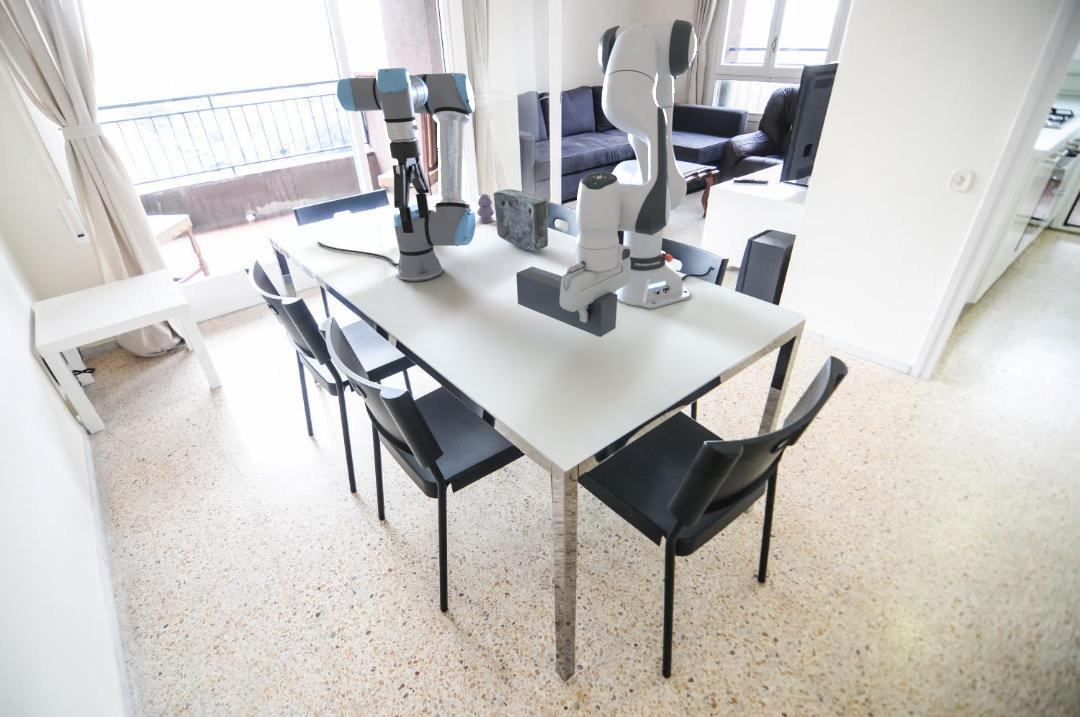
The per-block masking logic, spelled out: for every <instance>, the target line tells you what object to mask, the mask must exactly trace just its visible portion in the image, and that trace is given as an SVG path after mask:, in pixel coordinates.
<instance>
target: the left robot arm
mask: <svg viewBox="0 0 1080 717" xmlns="http://www.w3.org/2000/svg"><path fill="white" fill-rule="evenodd" d="M335 93H336V99H337V101H338V104H339V106H340V107H341V109H343V110H344V111H345V112H354V113H355V112H371V111H372V112H373V111H382V116H383V124H384V129H385V135H386V139H387V140H388V142H387V146H388V151H389V156H390V158H392V159H394V160H397V164H396V165H395V164H394V165H392V172H393V206H394V209H397V210H396V211H395V212H394V213H393V215H392V219H393V228H394V230H395V231H394V232H395V236H396V243H397V247H398V251H399V259H398V263H397V262H394V261H393V260H392V259H391V258H390V257H388V256H386V255H383V254H379V253H373V252H368V251H360V250H353V249H348V248H347V249H346V248H339V247H334V246H329V245H327V244H324V243H321V242H320V241H317V244H318V245H320V246H322V247H325V248H327V249H331V250H335V251H340V252H346V253H347V252H348V253H356V254H363V255H369V256H373V257H378V258H382V259H385V260H388V261H389V262H390V263H391V265H393V266H397V276H398V278H399V279H400V280H402V281H406V282H413V283H414V282H425V281H429V280H432V279H435V278H438V277H439V276H440V275H441V274H442V273H443V268H442V264H441V263H440V258H439V257H438V256H437V254H436V252H435V250H434V246H436V247H438V246H441V247H443V246H445V247H448V246H449V247H451V246H452V247H459V246H461V247H462V246H468V245H470V243H471V242H472V241H473V239H474V235H475V231H476V213H475V211H474V210H473V209H470V208H471V205H470V204H469V203H468V201H467V200H466V158H465V157H466V156H465V154H466V152H465V150H466V149H465V148H466V146H465V144H466V143H465V137H466V136H465V126H466V125H467V124H468V122H470V115H472V114H474V113H475V108H476V106H475V97H474V91H473V88H472V84H471V82H470V79H469V77H468V76H467V75H466V74H465V73H462V72H453V71H452V72H446V73H443V72H442V73H420V74H414V75H412V74H411V75H409V71H408V70H407V69H406V68H405V67H391V68H379V69H377V70H376V73H375V77H348V78H341V79H339V80H337V82H336V86H335ZM416 114H419V115H432V118H433V120H434V121H435V122H436V123H437V148H438V149H437V151H438V152H437V154H438V155H437V156H438V160H437V161H438V199H437V200H436V201H435V202H434V209H429V203H428V197H427V194H430V189H429V185H428V181H427V179H426V176H425V172H424V169H423V167H422V163H421V157H420V156H421V154H422V153H421V145H420V141H419V140H418V137H419V136H418V134H419V133H418V129H419V125H418V124H417V122H416V121H417V120H416ZM411 184H412V186H413V187H414V190H415V191H416V194H415V198H416V204H413V205H409V202H410V192H411V190H410V188H411Z"/></svg>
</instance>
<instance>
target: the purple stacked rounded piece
mask: <svg viewBox="0 0 1080 717" xmlns="http://www.w3.org/2000/svg"><path fill="white" fill-rule="evenodd" d="M476 196H477V199H476V203H477V205H478V206H477V207H476V214H477V215H478V216H479V218H478V221H479V223H481V224H488V223H492V222H493V221H494V217H493V216H494V214H495V207H494V206H493V205H492V204H493V198H492V197H491V196H490V195H489V194H487V193H483V194H480V193H476Z"/></svg>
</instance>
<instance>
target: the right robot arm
mask: <svg viewBox="0 0 1080 717" xmlns="http://www.w3.org/2000/svg"><path fill="white" fill-rule="evenodd" d="M696 51H697V36H696V32H695V27H694V26H693V24H692V23H691V22H690V21H688V20H683V19H675V20H646V21H645V22H644V21H643V22H639V23H638V22H637V23H631V24H625V25H623V26H621V25H616V26H613V27H610V28H607V29H606V30H605V32H604V33H602V35H601V37H600V40H599V43H598V49H597V59H598V60H597V61H598V66H599V70H600V71H601V73H602V74H603V75H604V78H603V79H604V80H603V85H602V90H601V109H602V111H603V114H604V116H605V118H606V119H607V120H608V122H609V123H611V125H613V127H615V128H616V129H618V130H619V131H622V132H624V133H626V134H627V139H628V143H629V145H630V146H631V147H632V149H633V151H634V155H635V158H636V159H630V160H623V161H621V162H620V163H618V164H617V165H616V166H615V168H614V169H613V171H612V172H609V171H594V172H591V173H588V174H585V175H584V176H583V177H582V178H581V179H580V181H579V185H578V191H577V197H576V198H577V199H576V208H575V224H576V227H577V235H576V238H575V265H573V266H569V267H567V269H566V271H565V273H564V274H563V275H562V276H563V279H562V282H561V289H560V306H561V307H562V308H563V309H565V310H567V311H570V312H575V311H577V310H578V312H579V314H580V321H582V322H584V323H585V322H587V321H589V320H590V314H589V313H587V311H586V309H587V308H588V305H589V304H590V303H592V302H594V300H595V299H597V298H599V297H601V296H603V295H605V294H607V293H609V292H611V293H614V294H617V301H620V302H622V303H624V304H627V305H630V306H639V307H644V308H646V309H654V308H659V307H662V306H666V305H669V304H670V305H671V304H674V303H677V302H681V301H684V300H688V299H690V292H689V290H688V289H687V288H686V286H684V285H683V284H684V283H683V281H684V280H685V279H686V278H688V277H695V278H697V277H699V278H701V277H705V276H707V275H709V274H710V272H711V271H712V270H715V268H714V267H713V268H712V265H710V266H709V268H708V270H707V272H705V273H702V274H698V273H697V274H695V273H688V274H685V275H684V276H681V274H680V273H679V272H678V271H679V270H678V269H675V268H673V267H671V265H669V264H668V263H671V262H672V261H673V259H674V258H673V255H671V254H670V253H666V252H665V251H663V250H662V246H663V236H664V228H665V227H667V225H668V223H669V221H670V218H671V217H670V216H671V211H672V210H675V209H676V208H678V207H679V206H680V205H681V204H682V203H683V201H684V200H685V198H686V195H687V188H688V186H687V180H686V178H685V177H684V175H683V174H682V172H681V171H680V168H679V166H678V163H677V160H676V156H675V152H674V146H673V116H674V115H673V113H674V93H675V90H674V89H675V88H674V86H675V85H674V80H677V79H678V78H679V76H681V75H682V74H684V73H686V71H687V70H689V68H690V67H691V66H692V62H693V60H694V57H695V55H696ZM618 231H619V232H623V243H622V244H621V243H620V238H619V234H618ZM666 262H667V263H666Z"/></svg>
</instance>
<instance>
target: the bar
mask: <svg viewBox="0 0 1080 717" xmlns="http://www.w3.org/2000/svg"><path fill="white" fill-rule="evenodd" d="M515 274H516V277H515V278H516V293H517V304H518V305H519V306H522V307H525V308H527V309H530V310H532V311H534V312H536V313H539V314H542V315H544V316H547V317H549V318H551V319H554V320H556V321H559V322H561V323H565V324H567V325H569V326H571V327H574V328H576V329H578V330H581V331H584V332H585V333H586V332H587V333H588V334H590V335H594V336H596V337H598V338H602V337H604V336H605V335H607V334H608V333H610V332H612V331H614V330H615V329H616V326H617V323H616V322H617V312H618V311H617V309H618V299H617V294H616V293H615V292H614V293H611V292H609V293H607V294H605V295H603V296H601V297H599V298H597V299H595V300H594V302H592V303H590V304H589V305H588V308H587V309H586V311H587V313H589V314H590V320H589V321H587V322H585V323H584V322H582V321H580V314H579V312H578V310H577V311H575V312H570V311H567V310H565V309H563V308H562V307H561V306H560V289H561V282H562V279H563V275H561V274H560V275H559V274H557V273H553V272H551V271H547V270H544V269H542V268H539V267H535V266H529V267H527V268H525V269H522V270H520V271H518V272H516V273H515Z"/></svg>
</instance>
